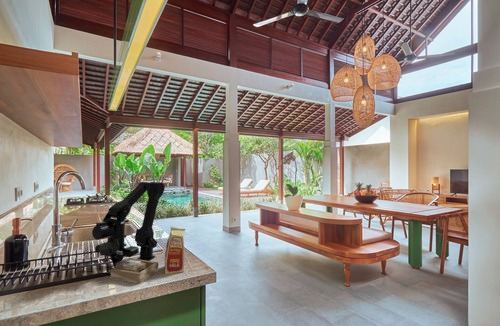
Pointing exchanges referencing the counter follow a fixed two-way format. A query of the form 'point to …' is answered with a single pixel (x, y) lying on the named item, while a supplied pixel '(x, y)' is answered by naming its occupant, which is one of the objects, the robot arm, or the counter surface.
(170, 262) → the milk carton
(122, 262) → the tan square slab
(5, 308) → the counter surface
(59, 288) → the counter surface
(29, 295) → the counter surface
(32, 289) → the counter surface
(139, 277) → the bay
